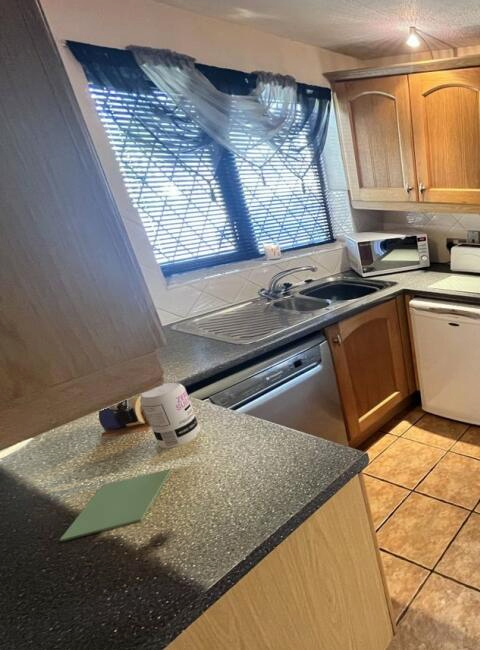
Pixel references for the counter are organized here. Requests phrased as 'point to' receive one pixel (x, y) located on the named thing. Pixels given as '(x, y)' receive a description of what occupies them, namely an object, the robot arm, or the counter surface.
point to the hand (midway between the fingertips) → (138, 413)
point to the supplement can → (170, 414)
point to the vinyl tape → (110, 419)
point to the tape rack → (126, 429)
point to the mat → (117, 505)
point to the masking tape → (137, 410)
